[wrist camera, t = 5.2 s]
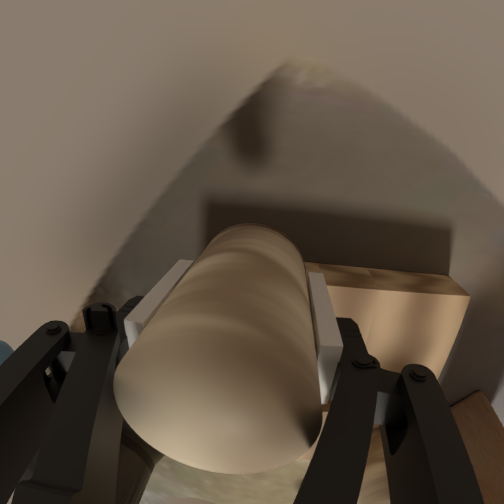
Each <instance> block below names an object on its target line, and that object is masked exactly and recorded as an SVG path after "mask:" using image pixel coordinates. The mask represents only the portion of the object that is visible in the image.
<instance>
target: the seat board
mask: <svg viewBox="0 0 504 504" xmlns="http://www.w3.org/2000/svg"><path fill="white" fill-rule="evenodd" d="M304 263H305V268H306V280H307V278H308V272H315V273H323V275H324V279H325V282H326V285H327V289H328V292H329V296H330V299H331V303H332V306H333V310H334V313H335V317H342V318H351V319H352V320H354V321H355V322H356V323H357V324H358V327H359V329H360V332H361V335H362V338H363V340H364V343H365V345H366V348H367V351H368V354H370V355H372V356H374V357H375V358H376V359H377V360H378V361H379V362H380V368H382V369H385V370H389V371H393V372H398V373H401V371H402V369H403V367H404V366H406V365H408V364H421V365H424V366H426V367H428V368H429V369H430V370H432V372H433V373H434V374H435V376H436V378H437V380H438V378H439V375H440V373H441V371H442V369H443V367H444V365H445V362H446V360H447V358H448V356H449V353H450V351H451V348H452V346H453V344H454V341H455V339H456V336H457V334H458V331H459V328H460V326H461V323H462V320H463V318H464V315H465V312H466V309H467V306H468V303H469V300H470V297H471V296H470V295H469V294H468V293H467V292H466V291H465V290H464V289H463V288H462V287H461V286H459V285H458V284H457V283H456V282H455V281H454V280H453V279H452V278H451V277H450V276H447V275H436V274H425V273H415V272H404V271H394V270H383V269H373V268H362V267H352V266H342V265H331V264H321V263H311V262H304ZM330 405H331V397H330V396H329V400H328V403H327V404H322V413H323V420H322V427H321V431H320V434H319V436H318V438H317V440H316V441H315V443H314V444H313V446H312V447H311V448H310V449H309V450H308V451H307V452H306V453H305V454H303V455H302V456H301V457H299V458H298V459H309V460H311V459H312V456H313V454H314V451H315V448H316V446H317V443H318V440H319V437H320V435H321V432H322V429H323V426H324V423H325V420H326V417H327V414H328V411H329V408H330ZM357 504H390V495H389V487H388V479H387V472H386V465H385V459H384V452H383V446H382V440H381V434H380V429H379V424H375V423H374V424H373V430H372V436H371V442H370V447H369V453H368V458H367V463H366V467H365V472H364V477H363V481H362V485H361V490H360V494H359V498H358V502H357Z"/></svg>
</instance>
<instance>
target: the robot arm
mask: <svg viewBox="0 0 504 504" xmlns="http://www.w3.org/2000/svg"><path fill="white" fill-rule="evenodd" d="M193 264H194V261H191V260H181V259H180V260H179V261H178V262H177V263H176V264H175V265H174V266H173V267H172V268H171V269H170V270H169V271H168V273H167V274H166V275H165V276H164V277H163V278H162V279H161V280H160V281H159V282H158V283H157V284H156V285H155V286H154V287H153V288H152V290H151V291H150V292H149V293H148V294H147V295H146V296H145V297H143V296H136V297H134V298H132V299H130V300H128V301H127V302H126V303H125V304H124V306H122V307H121V308H120V309H119V311H117V312H116V308H115V307H114V306H113V305H111V304H109V303H94V304H91V305H88V306H87V307H85V308H84V309H83V310H82V311H83V317H84V322H85V327H86V331H85V333H70V331H69V327H68V325H67V324H66V323H65V322H62V321H50V322H48V323H45V324H44V325H42V326H41V327H40V328H39V329H38V330H37V331H35V332H34V333H33V334H32V335H31V336H30V337H29V338H28V339H27V340H26V341H25V342H24V343H23V344H22V345H21V346H19V348H17V349H16V350H15V351H14V350H13V349H12V348H11V347H10V346H9V345H8V344H7V343H6V342H4V341H1V340H0V504H7V502H8V500H9V498H10V497H11V495H12V493H13V491H14V490H15V491H14V495H13V499H12V503H11V504H139V502H140V500H141V497H142V495H143V492H144V490H145V488H146V485H147V483H148V480H149V478H150V475H151V473H152V471H153V469H154V466H155V465H156V463H157V462H158V461H159V460H160V459H161V458H162V457H163V456H164V455H165V454H163V453H161V452H160V451H158V450H156V449H155V448H153V447H152V446H151V445H149V444H148V443H147V442H146V441H144V440H143V439H142V438H141V437H140V436H139V435H138V434H137V433H136V432H135V431H134V430H133V429H132V428H131V427H130V425H129V424H128V423H127V421H126V420H125V419H124V417H123V415H122V414H121V412H120V410H119V408H118V405H117V403H116V400H115V395H114V389H113V381H114V374H115V371H116V369H117V366H118V365H119V363H120V361H121V360H122V358H123V357H124V356H125V354H126V353H127V352H128V350H129V349H130V347H131V346H132V345H133V343H134V342H135V341H136V339H137V338H138V337H139V335H140V334H141V332H142V331H143V330H144V328H145V327H146V326H147V324H148V323H149V322H150V320H151V319H152V318H153V316H154V315H155V314H156V312H157V311H158V310H159V308H160V307H161V306H162V304H163V303H164V302H165V300H166V299H167V298H168V296H169V295H170V294H171V293H172V291H173V290H174V289H175V287H176V286H177V285H178V283H179V282H180V281H181V280H182V278H183V277H184V276H185V274H186V273H187V272H188V271H189V269H190V268H191V267H192V265H193ZM307 287H308V294H309V301H310V309H311V316H312V324H313V331H314V339H315V348H316V356H317V365H318V374H319V383H320V393H321V403H322V404H327V403H328V400H329V396H330V397H331V405H330V408H329V411H328V414H327V417H326V420H325V423H324V426H323V429H322V432H321V435H320V437H319V440H318V443H317V446H316V448H315V451H314V454H313V456H312V459H311V462H310V464H309V467H308V469H307V472H306V474H305V477H304V479H303V482H302V484H301V487H300V489H299V491H298V494H297V496H296V498H295V501H294V503H293V504H357V502H358V498H359V494H360V490H361V485H362V481H363V477H364V472H365V467H366V463H367V458H368V453H369V447H370V442H371V436H372V430H373V424H374V423H375V424H379V429H380V434H381V440H382V446H383V452H384V459H385V465H386V472H387V479H388V487H389V495H390V504H484V501H483V497H482V494H481V491H480V487H479V484H478V481H477V478H476V475H475V472H474V469H473V466H472V463H471V461H470V458H469V455H468V452H467V450H466V447H465V444H464V442H463V439H462V436H461V434H460V431H459V429H458V426H457V424H456V422H455V419H454V417H453V414H452V412H451V410H450V407H449V405H448V403H447V400H446V398H445V396H444V394H443V391H442V389H441V387H440V385H439V383H438V381H437V378H436V376H435V374H434V373H433V372H432V370H430V369H429V368H428V367H426V366H424V365H421V364H408V365H406V366H404V367H403V369H402V371H401V373H398V372H393V371H389V370H385V369H382V368H380V362H379V361H378V360H377V359H376V358H375V357H374V356H372V355H370V354H368V351H367V348H366V345H365V343H364V340H363V338H362V335H361V332H360V329H359V327H358V324H357V323H356V322H355V321H354V320H352V319H351V318H342V317H335V313H334V310H333V306H332V303H331V299H330V296H329V292H328V289H327V285H326V282H325V279H324V275H323V273H315V272H308V278H307ZM48 366H49V368H50V370H51V373H50V374H49V375H48V376H47V375H46V372H45V370H46V369H47V368H48Z"/></svg>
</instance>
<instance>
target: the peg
mask: <svg viewBox="0 0 504 504" xmlns="http://www.w3.org/2000/svg"><path fill="white" fill-rule="evenodd" d="M113 389H114V395H115V400H116V403H117V405H118V408H119V410H120V412H121V414H122V415H123V417H124V419H125V420H126V421H127V423H128V424H129V425H130V427H131V428H132V429H133V430H134V431H135V432H136V433H137V434H138V435H139V436H140V437H141V438H142V439H143V440H144V441H146V442H147V443H148V444H149V445H151V446H152V447H153V448H155V449H156V450H158V451H160V452H161V453H163V454H165V455H166V456H168V457H170V458H172V459H174V460H177V461H179V462H181V463H184V464H186V465H189V466H192V467H195V468H199V469H202V470H207V471H212V472H218V473H227V474H250V473H259V472H264V471H269V470H273V469H276V468H279V467H282V466H284V465H287V464H289V463H291V462H293V461H294V460H296V459H298V458H299V457H301V456H302V455H303V454H305V453H306V452H307V451H308V450H309V449H310V448H311V447H312V446H313V444H314V443H315V441H316V440H317V438H318V436H319V434H320V431H321V427H322V420H323V413H322V403H321V393H320V383H319V374H318V365H317V356H316V348H315V339H314V331H313V324H312V316H311V309H310V301H309V294H308V287H307V280H306V268H305V263H304V259H303V257H302V254H301V252H300V250H299V249H298V247H297V246H296V244H295V243H294V242H293V241H292V240H291V239H290V238H289V237H288V236H287V235H286V234H284V233H283V232H281V231H280V230H278V229H276V228H274V227H271V226H269V225H265V224H260V223H241V224H237V225H233V226H231V227H228V228H226V229H224V230H223V231H221V232H220V233H218V234H217V235H216V236H215V237H214V238H213V239H212V240H211V241H210V242H209V244H208V245H207V246H206V248H205V250H204V251H203V253H202V254H201V255H200V256H199V258H198V259H197V260H196V262H195V263H194V264H193V265H192V267H191V268H190V269H189V271H188V272H187V273H186V274H185V276H184V277H183V278H182V280H181V281H180V282H179V283H178V285H177V286H176V287H175V289H174V290H173V291H172V293H171V294H170V295H169V296H168V298H167V299H166V300H165V302H164V303H163V304H162V306H161V307H160V308H159V310H158V311H157V312H156V314H155V315H154V316H153V318H152V319H151V320H150V322H149V323H148V324H147V326H146V327H145V328H144V330H143V331H142V332H141V334H140V335H139V337H138V338H137V339H136V341H135V342H134V343H133V345H132V346H131V347H130V349H129V350H128V352H127V353H126V354H125V356H124V357H123V358H122V360H121V361H120V363H119V365H118V366H117V369H116V371H115V374H114V381H113Z"/></svg>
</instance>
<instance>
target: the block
mask: <svg viewBox="0 0 504 504" xmlns="http://www.w3.org/2000/svg"><path fill="white" fill-rule="evenodd" d="M450 410H451V412H452V414H453V417H454V419H455V422H456V424H457V426H458V429H459V431H460V434H461V436H462V439H463V442H464V444H465V447H466V450H467V452H468V455H469V458H470V461H471V463H472V466H473V469H474V472H475V475H476V478H477V481H478V484H479V487H480V491H481V494H482V497H483V501H484V504H504V427H503V425H502V423H501V422H500V420H499V418H498V416H497V414H496V413H495V411H494V409H493V407H492V406H491V404H490V402H489V401H488V399H487V397H486V396H485V394H484V393H483V392H482V391H477V392H475V393H474V394H472V395H470V396H469V397H467V398H466V399H464V400H462V401H460V402H459V403H457V404H455V405H454V406H452V407H450Z"/></svg>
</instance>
